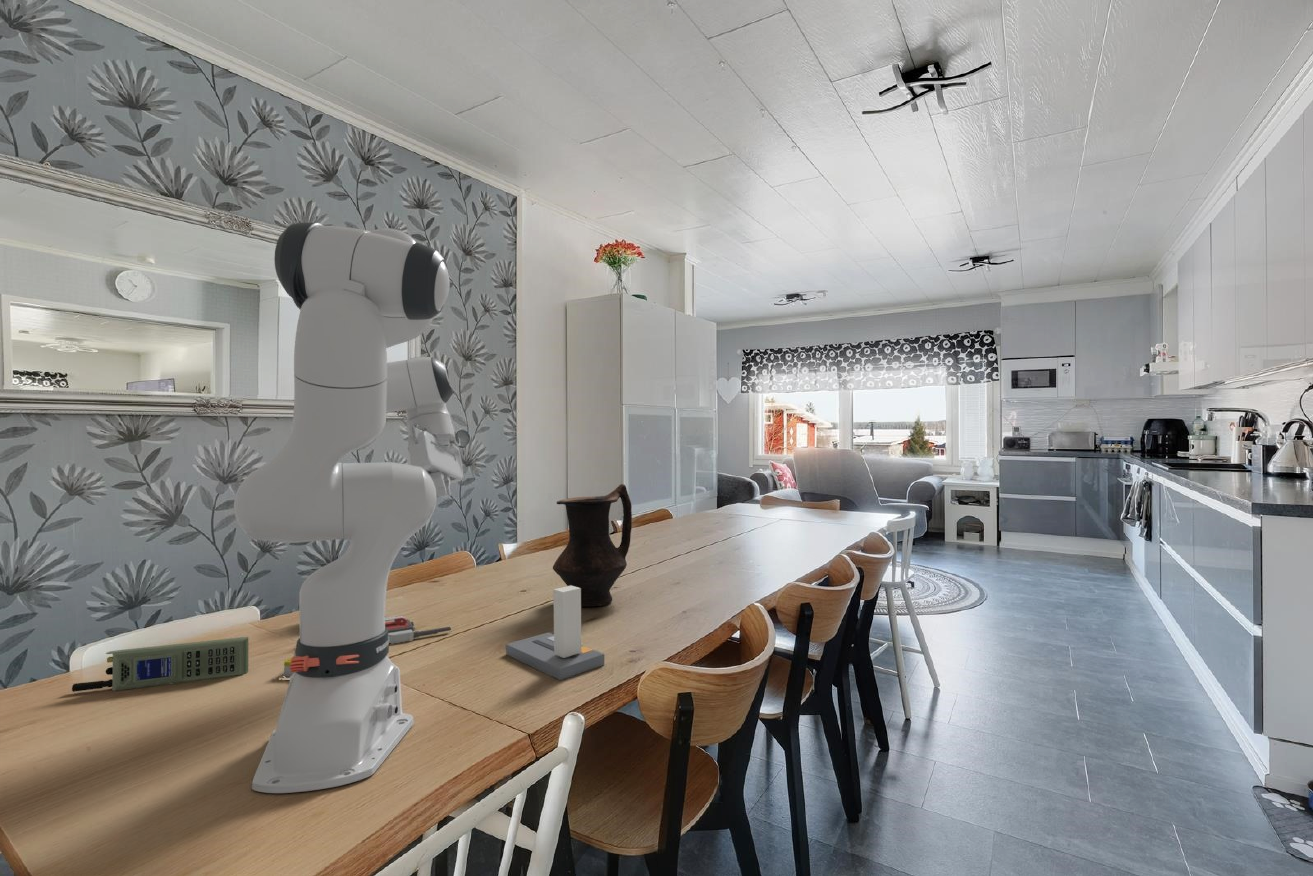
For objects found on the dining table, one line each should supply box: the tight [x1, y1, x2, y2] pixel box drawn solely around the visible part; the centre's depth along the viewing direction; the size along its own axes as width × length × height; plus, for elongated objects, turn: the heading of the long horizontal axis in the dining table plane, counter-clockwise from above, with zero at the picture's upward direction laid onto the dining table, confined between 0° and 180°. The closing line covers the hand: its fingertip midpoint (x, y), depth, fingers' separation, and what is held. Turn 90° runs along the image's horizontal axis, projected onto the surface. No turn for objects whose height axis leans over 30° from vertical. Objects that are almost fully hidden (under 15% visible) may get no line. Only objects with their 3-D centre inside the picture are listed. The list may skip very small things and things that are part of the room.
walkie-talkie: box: [385, 615, 452, 645], centre depth 130 cm, size 9×4×20 cm
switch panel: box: [505, 632, 605, 681], centre depth 116 cm, size 18×10×2 cm, turn 45°
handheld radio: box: [71, 636, 249, 693], centre depth 107 cm, size 7×3×25 cm
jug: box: [552, 483, 633, 607], centre depth 156 cm, size 21×18×30 cm
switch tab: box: [553, 585, 582, 658], centre depth 113 cm, size 3×4×12 cm
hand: (444, 497), depth 124 cm, fingers closed
